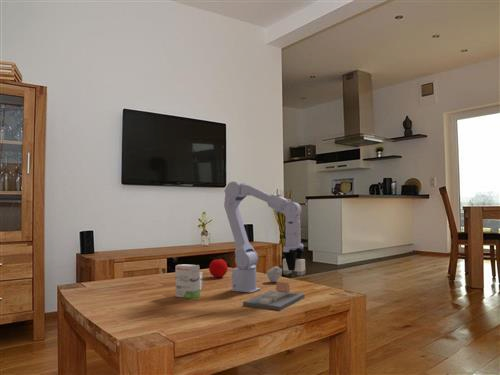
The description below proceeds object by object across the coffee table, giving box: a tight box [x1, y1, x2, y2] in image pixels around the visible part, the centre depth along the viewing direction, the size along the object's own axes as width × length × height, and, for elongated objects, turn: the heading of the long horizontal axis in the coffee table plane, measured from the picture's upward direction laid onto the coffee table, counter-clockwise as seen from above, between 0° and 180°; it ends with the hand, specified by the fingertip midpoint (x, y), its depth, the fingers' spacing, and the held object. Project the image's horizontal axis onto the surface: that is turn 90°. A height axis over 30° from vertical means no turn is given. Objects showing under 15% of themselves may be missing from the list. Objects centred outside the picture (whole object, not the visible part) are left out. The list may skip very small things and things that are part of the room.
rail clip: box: [275, 281, 290, 292], centre depth 136 cm, size 4×2×3 cm, turn 59°
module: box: [282, 258, 306, 276], centre depth 141 cm, size 8×4×6 cm, turn 60°
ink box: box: [174, 263, 201, 299], centre depth 140 cm, size 9×5×12 cm, turn 59°
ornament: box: [208, 256, 229, 278], centre depth 179 cm, size 9×9×10 cm
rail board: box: [242, 290, 305, 311], centre depth 130 cm, size 14×20×3 cm
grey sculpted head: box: [266, 265, 283, 283], centre depth 165 cm, size 6×7×7 cm
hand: (293, 269), depth 141 cm, fingers closed on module, 4 cm apart
